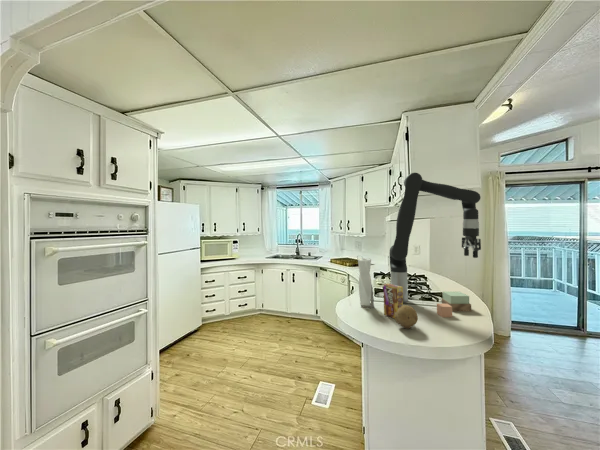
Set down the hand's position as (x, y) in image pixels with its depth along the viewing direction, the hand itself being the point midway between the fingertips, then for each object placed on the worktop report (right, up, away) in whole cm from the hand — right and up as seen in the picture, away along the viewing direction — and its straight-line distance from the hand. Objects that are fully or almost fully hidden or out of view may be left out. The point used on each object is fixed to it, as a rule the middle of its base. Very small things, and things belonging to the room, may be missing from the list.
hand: (470, 256), depth 141 cm
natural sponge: (-49, -27, -31) cm, 64 cm away
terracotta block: (-24, -27, -16) cm, 39 cm away
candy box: (-49, -28, -16) cm, 58 cm away
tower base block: (-12, -27, -6) cm, 30 cm away
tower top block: (-12, -23, -6) cm, 27 cm away
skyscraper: (-58, -28, +2) cm, 64 cm away
